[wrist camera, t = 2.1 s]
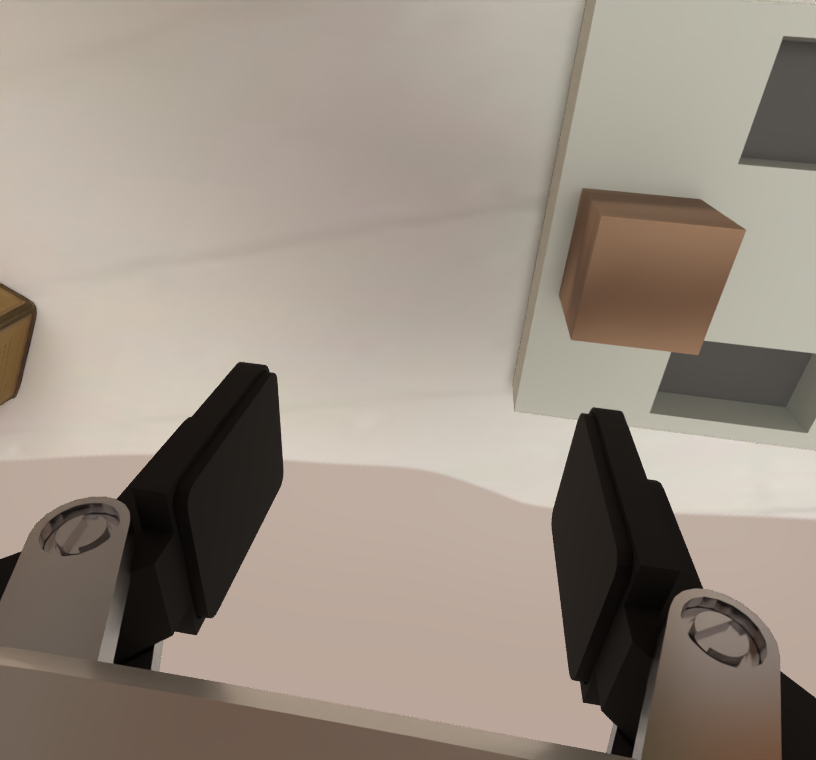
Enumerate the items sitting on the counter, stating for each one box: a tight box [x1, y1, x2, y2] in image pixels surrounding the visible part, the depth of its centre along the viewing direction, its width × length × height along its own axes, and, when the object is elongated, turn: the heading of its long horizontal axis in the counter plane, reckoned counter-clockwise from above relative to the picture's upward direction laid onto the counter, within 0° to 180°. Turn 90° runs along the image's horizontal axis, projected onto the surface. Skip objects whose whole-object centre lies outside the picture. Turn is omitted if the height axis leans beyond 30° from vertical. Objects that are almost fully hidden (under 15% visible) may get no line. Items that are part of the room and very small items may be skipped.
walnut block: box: [559, 188, 746, 355], centre depth 23 cm, size 5×5×5 cm
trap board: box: [513, 0, 816, 451], centre depth 25 cm, size 19×22×4 cm
